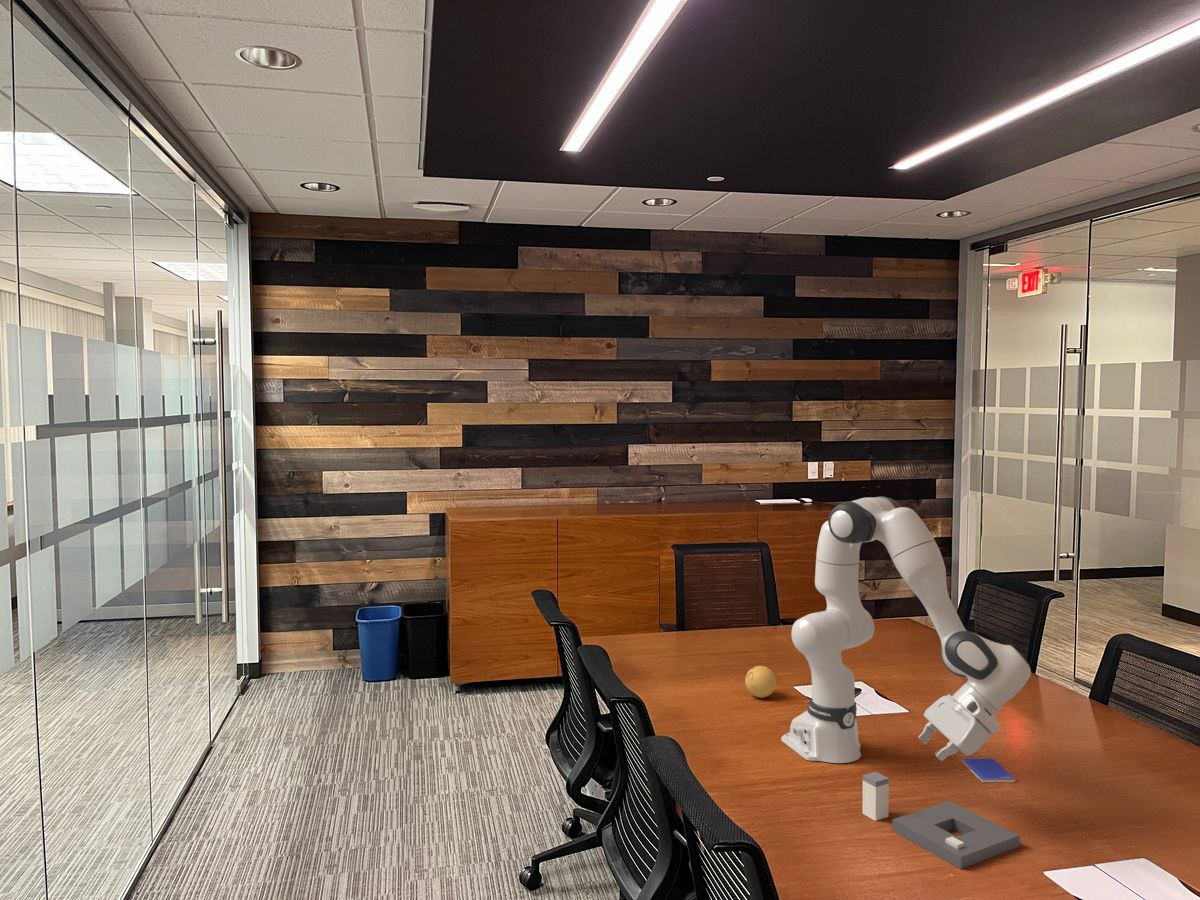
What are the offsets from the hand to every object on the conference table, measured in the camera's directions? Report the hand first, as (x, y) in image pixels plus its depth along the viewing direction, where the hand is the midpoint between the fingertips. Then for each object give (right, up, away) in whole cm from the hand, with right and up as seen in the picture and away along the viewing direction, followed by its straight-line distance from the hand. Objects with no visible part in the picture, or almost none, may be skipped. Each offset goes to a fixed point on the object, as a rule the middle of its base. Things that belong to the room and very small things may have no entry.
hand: (929, 749), depth 195 cm
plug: (-12, -15, +1) cm, 20 cm away
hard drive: (+24, -14, +23) cm, 36 cm away
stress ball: (-23, -12, +80) cm, 85 cm away
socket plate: (+2, -16, -10) cm, 19 cm away
